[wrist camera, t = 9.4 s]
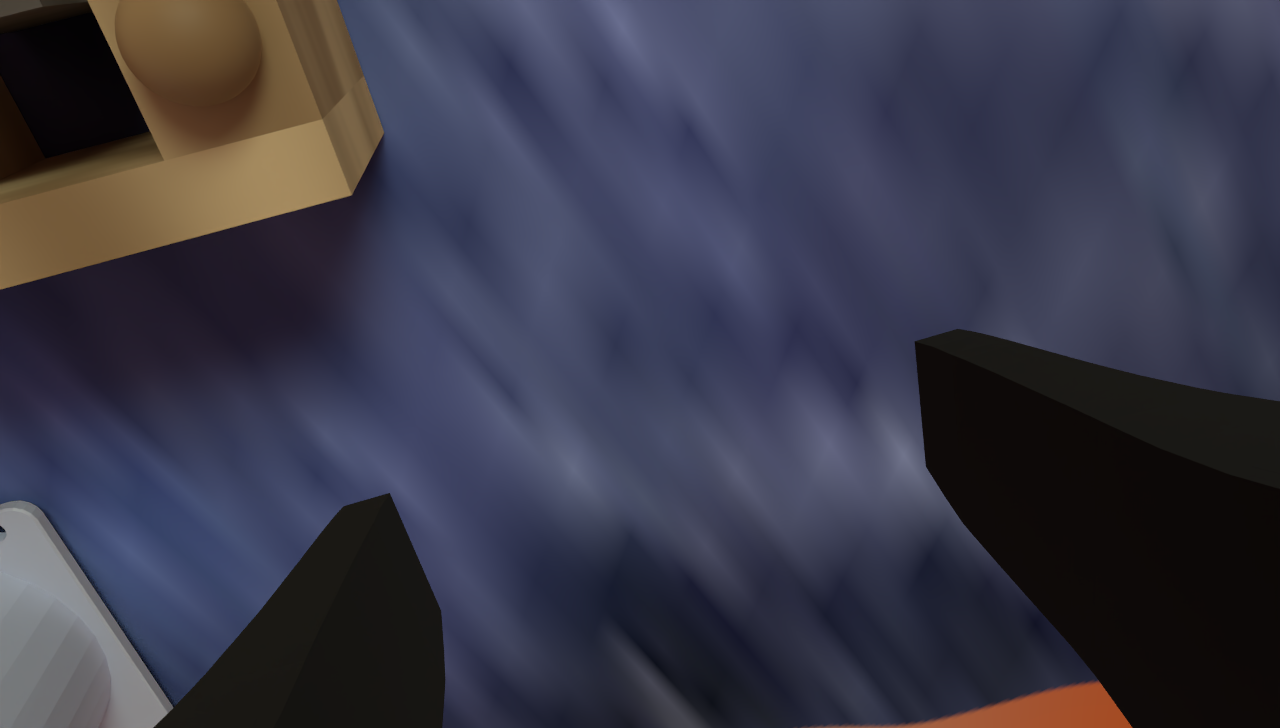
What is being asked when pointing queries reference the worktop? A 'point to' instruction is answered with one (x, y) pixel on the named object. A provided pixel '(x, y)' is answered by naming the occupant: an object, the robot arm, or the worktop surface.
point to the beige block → (38, 12)
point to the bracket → (193, 134)
